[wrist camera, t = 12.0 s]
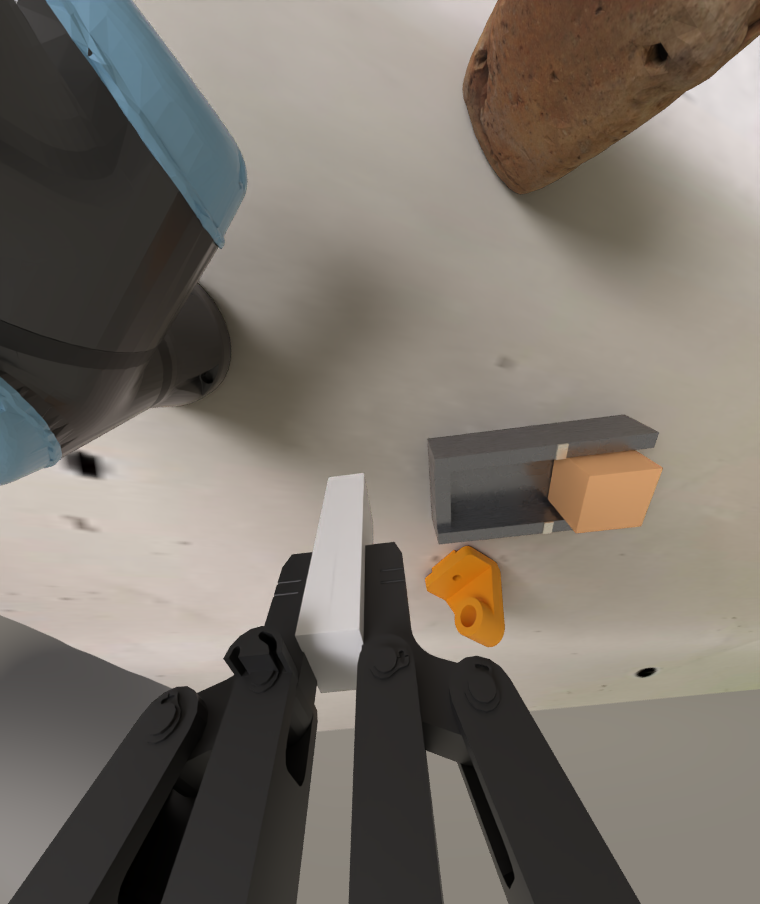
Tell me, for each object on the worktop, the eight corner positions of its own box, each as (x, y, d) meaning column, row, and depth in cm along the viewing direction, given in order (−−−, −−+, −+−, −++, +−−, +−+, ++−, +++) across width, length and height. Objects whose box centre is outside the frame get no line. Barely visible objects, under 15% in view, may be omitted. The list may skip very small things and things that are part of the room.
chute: (432, 518, 48) (439, 545, 43) (427, 438, 41) (435, 460, 36) (601, 499, 47) (628, 524, 42) (624, 414, 40) (660, 433, 35)
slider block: (547, 499, 45) (575, 533, 38) (556, 447, 40) (589, 476, 34) (603, 492, 44) (641, 526, 38) (618, 439, 40) (663, 467, 34)
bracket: (465, 540, 51) (489, 607, 40) (494, 558, 53) (525, 626, 42) (421, 576, 55) (433, 645, 44) (451, 591, 57) (469, 661, 46)
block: (583, 136, 27) (965, -133, 10) (512, 212, 30) (715, 107, 12) (514, 1, 23) (936, -843, 6) (439, 100, 26) (581, -286, 8)
